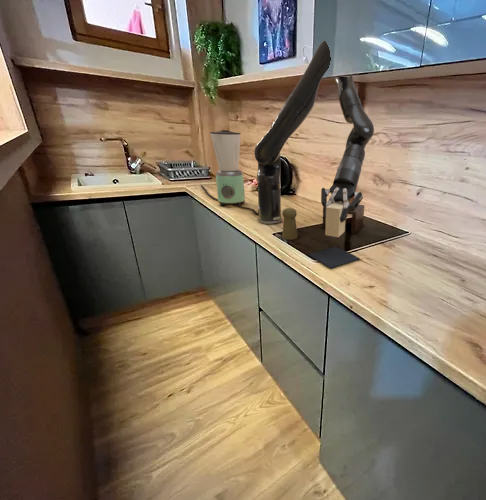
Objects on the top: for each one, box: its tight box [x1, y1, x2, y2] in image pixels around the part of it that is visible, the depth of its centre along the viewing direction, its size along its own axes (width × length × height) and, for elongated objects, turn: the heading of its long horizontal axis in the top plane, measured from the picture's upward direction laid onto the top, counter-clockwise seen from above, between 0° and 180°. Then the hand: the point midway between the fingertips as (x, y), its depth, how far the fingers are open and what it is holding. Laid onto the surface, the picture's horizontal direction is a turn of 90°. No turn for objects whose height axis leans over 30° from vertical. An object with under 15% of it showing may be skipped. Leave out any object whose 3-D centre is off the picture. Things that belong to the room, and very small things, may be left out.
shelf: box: [322, 202, 365, 235], centre depth 127 cm, size 12×14×9 cm
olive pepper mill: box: [281, 207, 299, 241], centre depth 113 cm, size 6×6×11 cm
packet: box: [324, 203, 346, 238], centre depth 95 cm, size 4×6×9 cm
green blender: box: [209, 129, 246, 207], centre depth 149 cm, size 19×13×35 cm
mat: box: [307, 246, 360, 270], centre depth 100 cm, size 12×12×1 cm
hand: (333, 219), depth 93 cm, fingers closed on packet, 4 cm apart
